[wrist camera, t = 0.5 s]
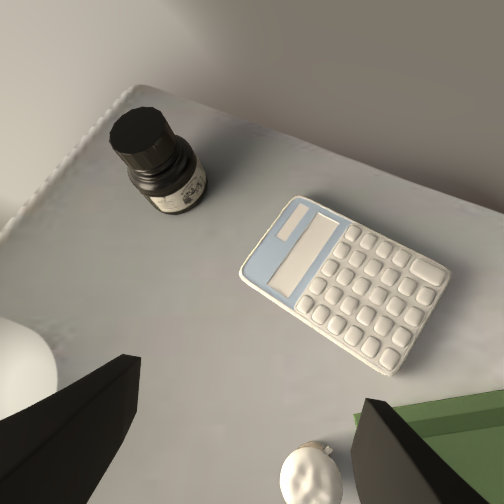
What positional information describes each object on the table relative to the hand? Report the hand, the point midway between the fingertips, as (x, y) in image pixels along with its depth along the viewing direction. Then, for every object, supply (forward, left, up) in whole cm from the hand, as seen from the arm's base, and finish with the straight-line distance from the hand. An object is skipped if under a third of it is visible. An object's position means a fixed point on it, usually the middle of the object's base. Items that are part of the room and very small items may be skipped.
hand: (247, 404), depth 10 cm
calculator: (+11, -7, -26) cm, 29 cm away
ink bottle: (+29, +11, -26) cm, 41 cm away
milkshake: (-6, 0, -26) cm, 27 cm away
